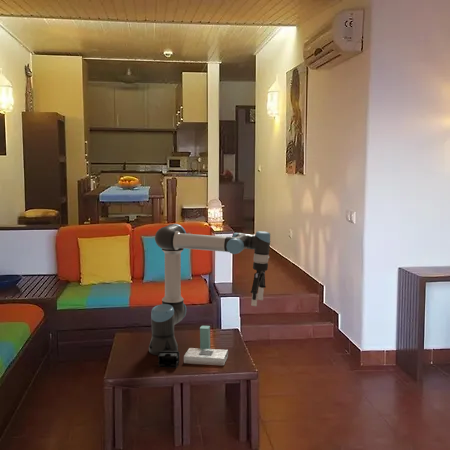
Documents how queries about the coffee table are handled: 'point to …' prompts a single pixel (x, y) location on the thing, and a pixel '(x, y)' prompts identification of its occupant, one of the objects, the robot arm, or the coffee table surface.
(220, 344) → the coffee table surface
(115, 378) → the coffee table surface
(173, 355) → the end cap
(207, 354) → the grey rectangular frame
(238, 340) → the coffee table surface
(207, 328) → the teal post
